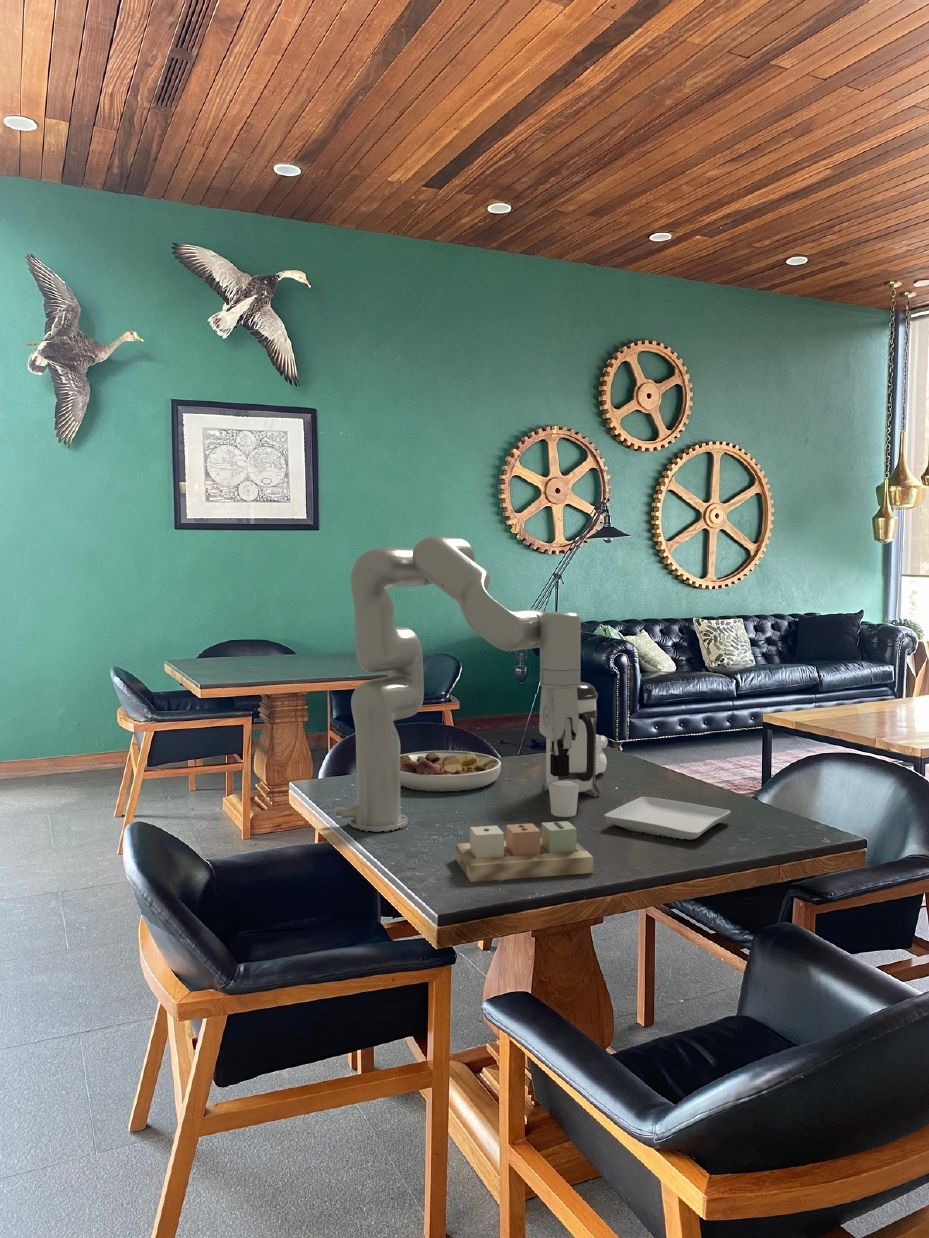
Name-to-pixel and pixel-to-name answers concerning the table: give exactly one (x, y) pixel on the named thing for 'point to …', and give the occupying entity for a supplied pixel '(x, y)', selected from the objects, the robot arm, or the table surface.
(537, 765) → the table surface
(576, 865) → the wooden dice block tray
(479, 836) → the white dice block
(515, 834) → the tan dice block
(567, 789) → the shot glass
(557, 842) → the green dice block
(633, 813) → the salad plate
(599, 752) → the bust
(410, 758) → the bowl
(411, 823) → the table surface
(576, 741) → the coffee press
